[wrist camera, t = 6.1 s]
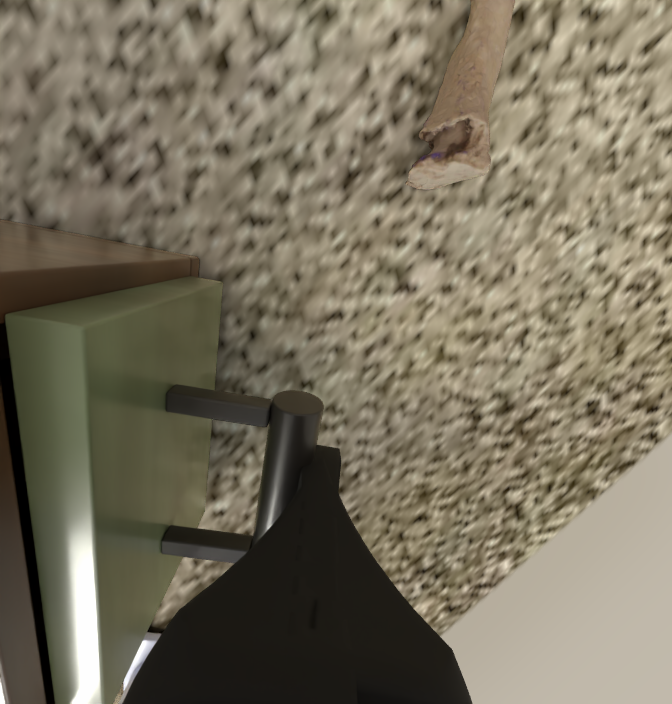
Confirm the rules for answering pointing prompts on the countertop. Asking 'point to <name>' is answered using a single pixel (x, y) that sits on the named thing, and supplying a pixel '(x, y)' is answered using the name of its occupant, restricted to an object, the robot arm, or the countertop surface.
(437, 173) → the bone
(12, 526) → the cabinet
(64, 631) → the drawer
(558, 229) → the countertop surface
